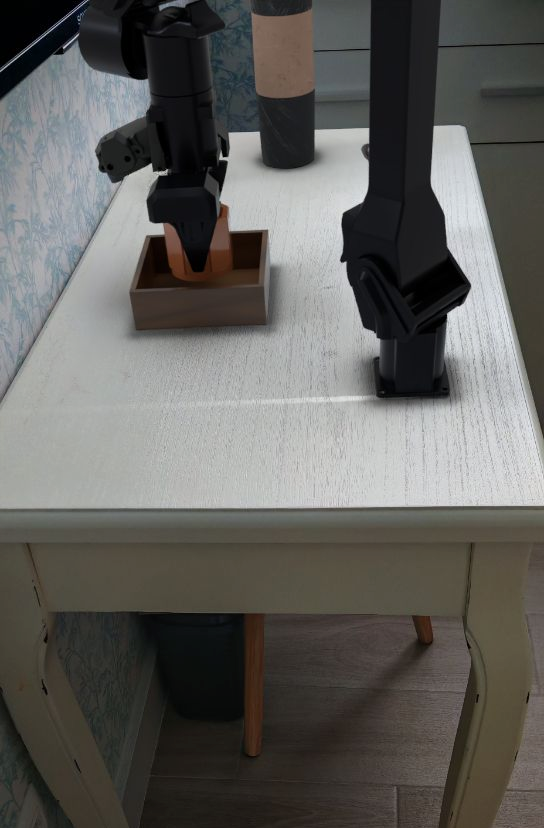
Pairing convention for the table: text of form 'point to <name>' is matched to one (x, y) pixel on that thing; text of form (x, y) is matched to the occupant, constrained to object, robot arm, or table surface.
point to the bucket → (217, 257)
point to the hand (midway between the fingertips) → (201, 256)
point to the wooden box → (202, 288)
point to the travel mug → (284, 80)
